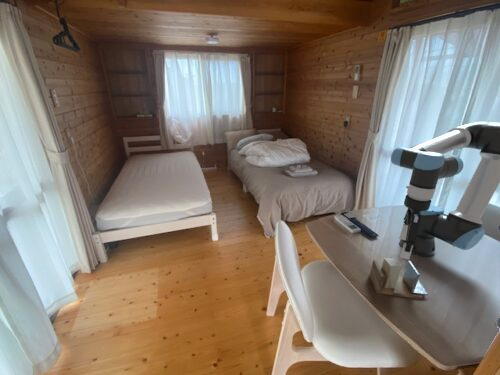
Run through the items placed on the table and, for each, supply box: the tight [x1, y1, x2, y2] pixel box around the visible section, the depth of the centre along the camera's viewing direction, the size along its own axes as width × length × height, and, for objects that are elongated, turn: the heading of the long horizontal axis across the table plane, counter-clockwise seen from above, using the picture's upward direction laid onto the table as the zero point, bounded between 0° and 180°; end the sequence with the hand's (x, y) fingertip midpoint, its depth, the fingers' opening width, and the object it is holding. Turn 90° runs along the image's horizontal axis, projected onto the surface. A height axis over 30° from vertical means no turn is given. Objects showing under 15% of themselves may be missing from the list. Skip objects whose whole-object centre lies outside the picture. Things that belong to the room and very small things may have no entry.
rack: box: [369, 259, 423, 300], centre depth 96 cm, size 16×10×8 cm, turn 80°
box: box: [380, 257, 402, 288], centre depth 95 cm, size 5×4×11 cm
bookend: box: [402, 260, 429, 296], centre depth 94 cm, size 6×8×9 cm
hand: (403, 248), depth 91 cm, fingers open, 13 cm apart
